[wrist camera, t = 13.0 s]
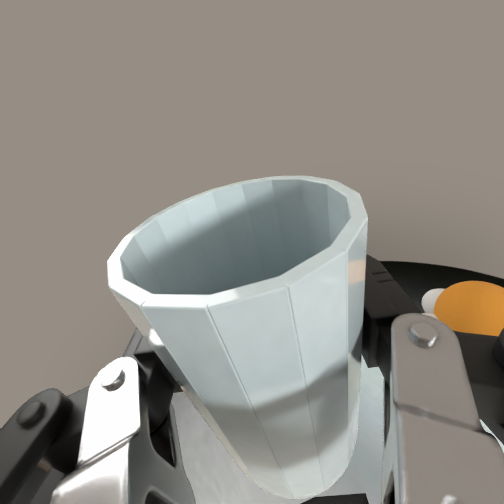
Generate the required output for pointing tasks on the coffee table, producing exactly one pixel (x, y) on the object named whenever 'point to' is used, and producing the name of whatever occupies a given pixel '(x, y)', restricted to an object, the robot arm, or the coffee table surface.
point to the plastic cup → (259, 319)
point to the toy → (468, 307)
